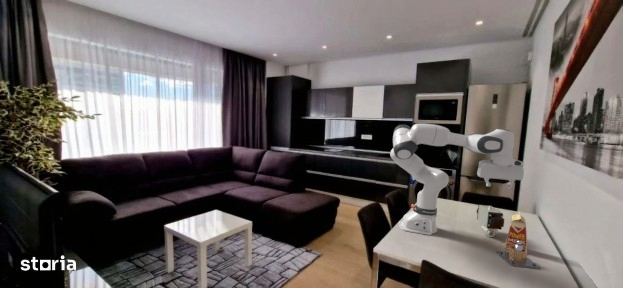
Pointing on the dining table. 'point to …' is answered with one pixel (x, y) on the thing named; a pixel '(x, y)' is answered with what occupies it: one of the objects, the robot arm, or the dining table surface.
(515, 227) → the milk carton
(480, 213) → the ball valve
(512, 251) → the wooden faceted bowl
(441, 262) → the dining table surface
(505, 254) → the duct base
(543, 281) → the dining table surface
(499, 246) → the dining table surface
